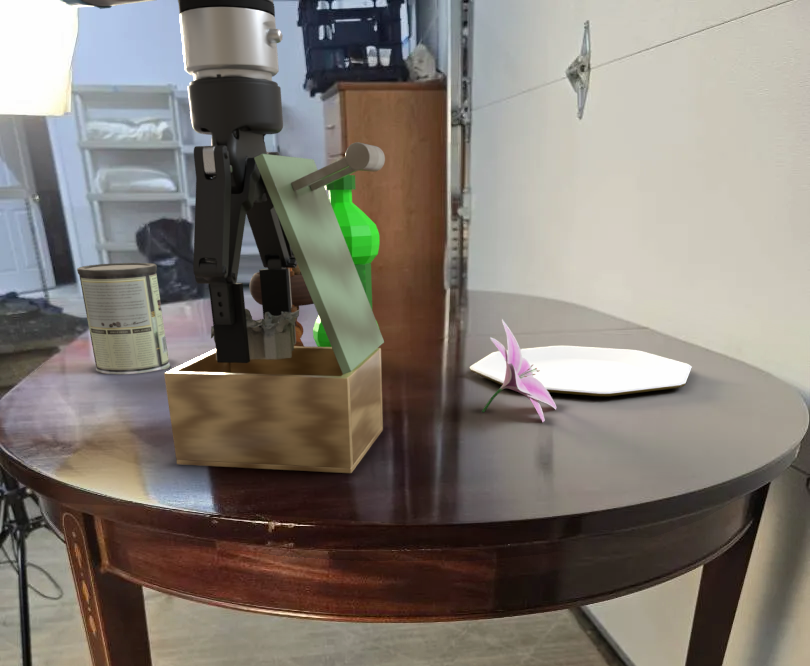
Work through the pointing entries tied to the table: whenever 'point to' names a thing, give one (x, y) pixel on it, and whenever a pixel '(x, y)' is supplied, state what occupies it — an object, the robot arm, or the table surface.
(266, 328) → the egg carton
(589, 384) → the plate
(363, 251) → the plastic bottle
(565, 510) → the table surface
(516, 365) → the lily
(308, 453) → the tan wooden box
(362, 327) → the lid
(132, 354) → the coffee can
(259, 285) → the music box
